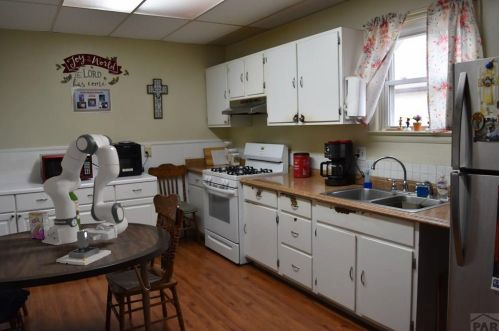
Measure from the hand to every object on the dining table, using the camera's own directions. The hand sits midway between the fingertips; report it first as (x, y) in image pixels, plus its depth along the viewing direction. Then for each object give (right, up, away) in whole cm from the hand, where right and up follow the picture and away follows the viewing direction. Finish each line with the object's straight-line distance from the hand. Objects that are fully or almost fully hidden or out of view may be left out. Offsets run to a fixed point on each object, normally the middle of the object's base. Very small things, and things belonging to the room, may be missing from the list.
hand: (85, 238), depth 202 cm
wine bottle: (-32, -5, +60) cm, 68 cm away
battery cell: (0, -8, -1) cm, 8 cm away
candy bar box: (-44, -8, +41) cm, 61 cm away
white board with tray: (0, -10, -1) cm, 10 cm away
